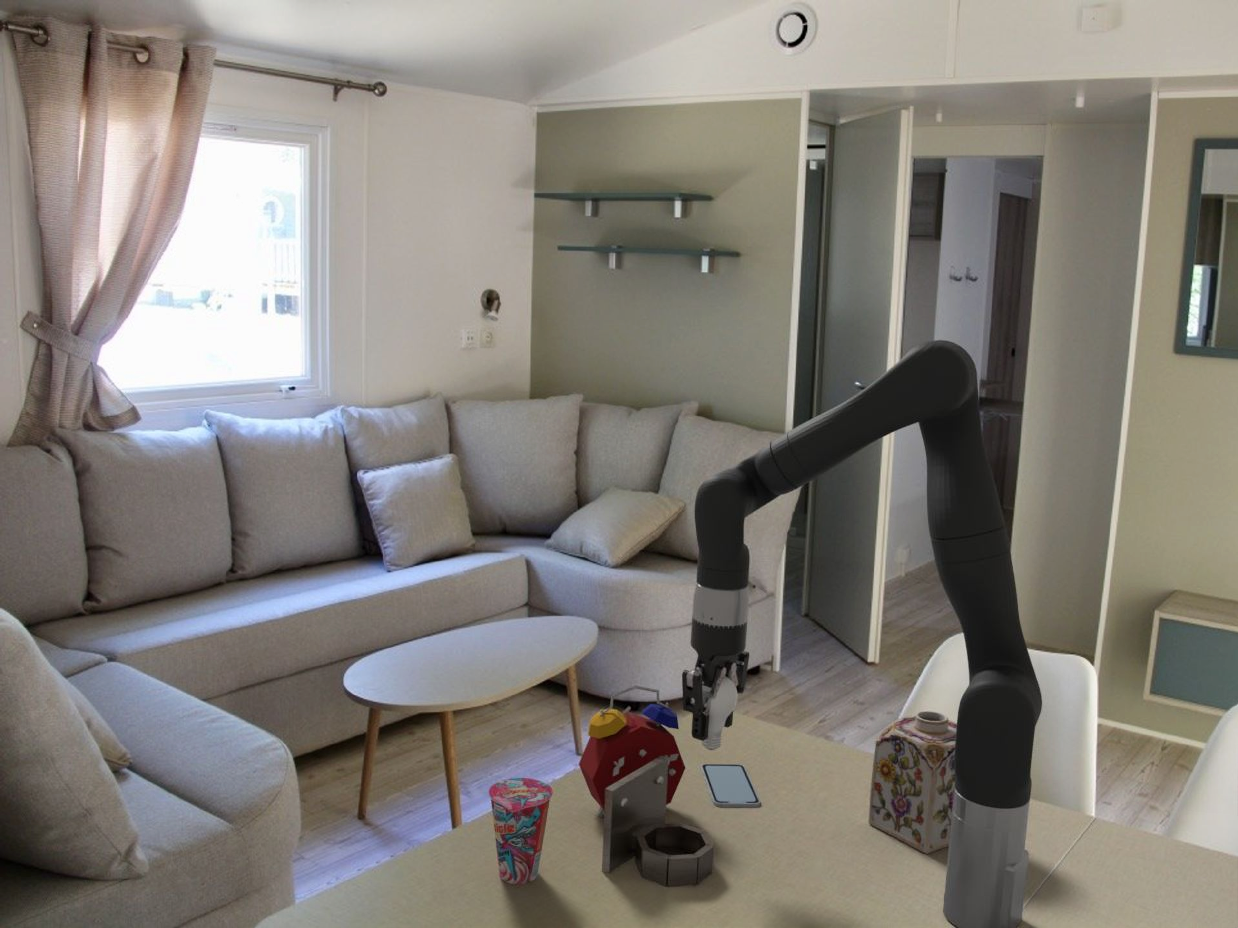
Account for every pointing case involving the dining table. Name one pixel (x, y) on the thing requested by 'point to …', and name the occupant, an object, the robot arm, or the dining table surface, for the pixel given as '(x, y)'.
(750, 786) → the smartphone
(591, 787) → the alarm clock
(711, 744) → the lightbulb
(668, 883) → the bracket
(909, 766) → the decorative jar
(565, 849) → the dining table surface
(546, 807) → the cup
